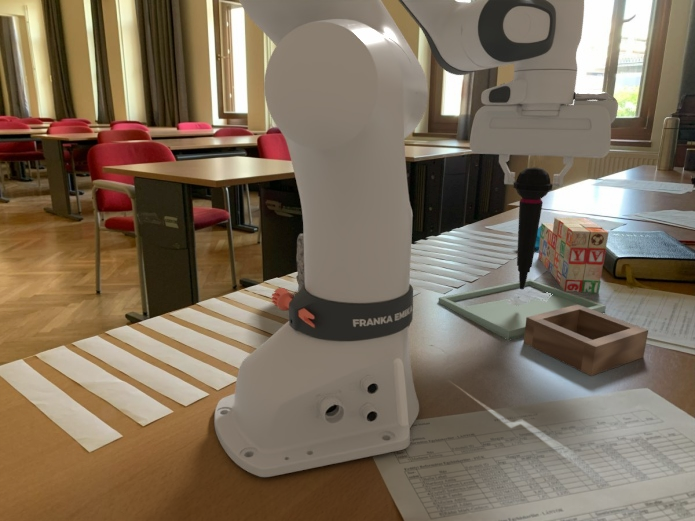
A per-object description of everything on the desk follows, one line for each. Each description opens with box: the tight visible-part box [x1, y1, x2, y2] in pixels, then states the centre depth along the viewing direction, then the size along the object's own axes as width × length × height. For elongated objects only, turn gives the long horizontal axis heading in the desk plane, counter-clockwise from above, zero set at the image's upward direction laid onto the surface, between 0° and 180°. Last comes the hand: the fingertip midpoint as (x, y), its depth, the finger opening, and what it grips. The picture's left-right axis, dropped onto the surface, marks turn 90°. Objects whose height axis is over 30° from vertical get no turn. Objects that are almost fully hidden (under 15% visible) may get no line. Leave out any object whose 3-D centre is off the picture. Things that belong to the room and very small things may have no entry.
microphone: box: [513, 167, 553, 290], centre depth 83 cm, size 6×6×20 cm
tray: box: [437, 278, 607, 341], centre depth 86 cm, size 22×16×2 cm
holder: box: [523, 304, 649, 377], centre depth 72 cm, size 11×11×4 cm
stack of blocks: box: [538, 217, 609, 294], centre depth 103 cm, size 21×6×12 cm, turn 173°
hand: (532, 185), depth 81 cm, fingers closed on microphone, 6 cm apart
